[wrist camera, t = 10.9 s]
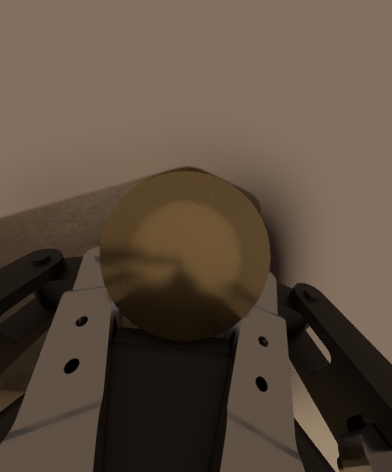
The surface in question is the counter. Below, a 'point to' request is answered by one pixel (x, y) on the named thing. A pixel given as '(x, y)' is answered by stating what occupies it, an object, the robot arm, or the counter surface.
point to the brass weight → (184, 256)
